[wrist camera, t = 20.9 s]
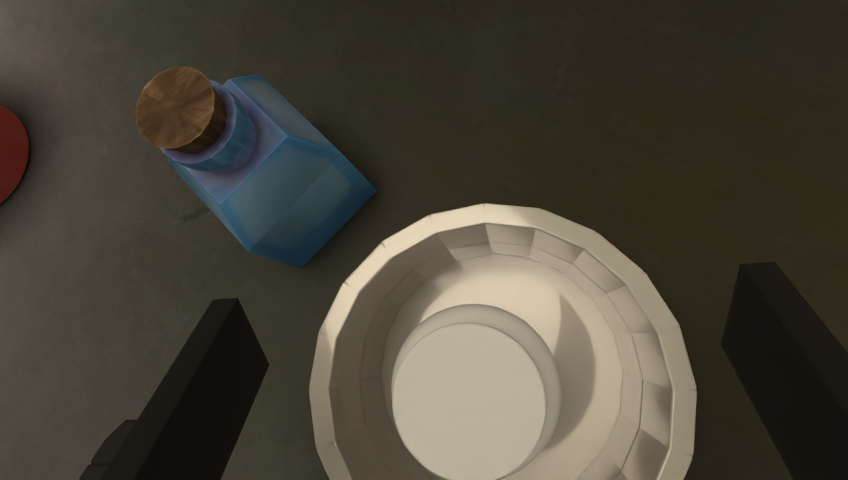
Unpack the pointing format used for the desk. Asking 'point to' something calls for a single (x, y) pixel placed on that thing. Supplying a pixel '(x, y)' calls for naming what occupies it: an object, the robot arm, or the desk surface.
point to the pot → (544, 311)
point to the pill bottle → (475, 393)
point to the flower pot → (11, 151)
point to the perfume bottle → (252, 161)
